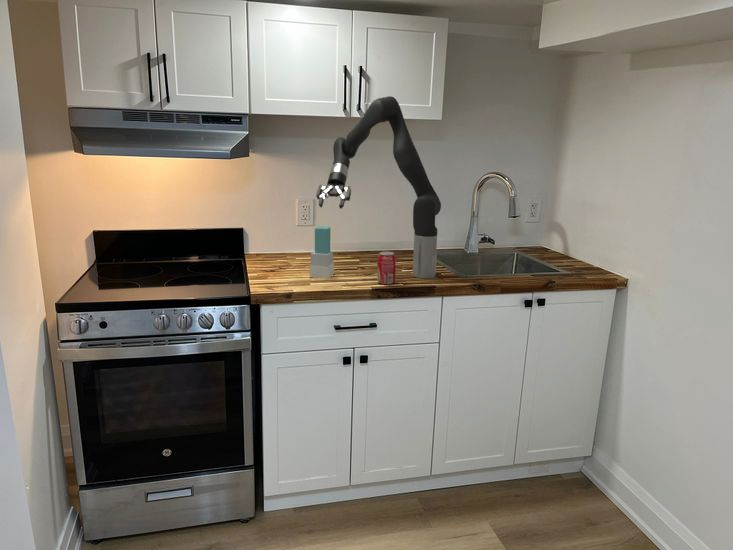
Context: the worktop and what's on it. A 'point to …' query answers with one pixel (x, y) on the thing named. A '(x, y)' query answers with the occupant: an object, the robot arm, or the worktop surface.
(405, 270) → the worktop surface
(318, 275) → the tower base
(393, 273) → the soda can
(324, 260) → the tower top
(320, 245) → the pillar
